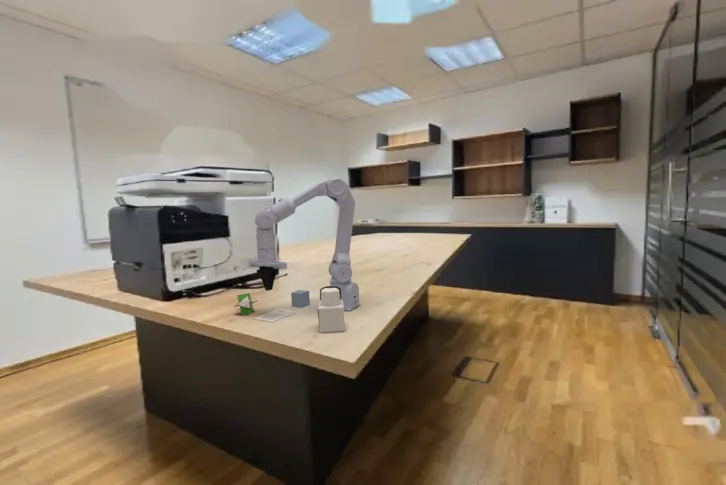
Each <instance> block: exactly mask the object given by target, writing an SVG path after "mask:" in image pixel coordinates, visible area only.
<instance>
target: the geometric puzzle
mask: <svg viewBox="0 0 726 485" xmlns="http://www.w3.org/2000/svg"><path fill="white" fill-rule="evenodd" d="M251 296H252V295H251V294H250V292H248V293H243V294H238V295H237V296H236V297H237V303H236V304H235V305H233V308H234V309H236V310H237V311H238V310H240V311H238V312H239V313H240V314H241V316H242V315H246V314H251V313H252V314H253V313H254V307H253V305H256V303H257V302H258V300H257V299H256V298H254V297H253V298H252V297H251ZM252 299H253V300H254V301H253V300H252Z"/></svg>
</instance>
